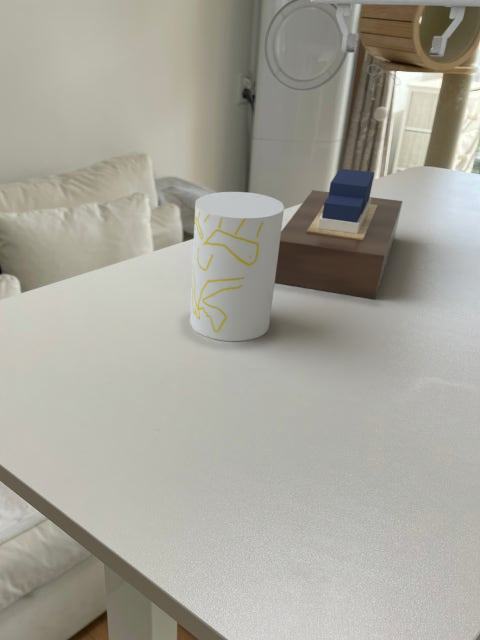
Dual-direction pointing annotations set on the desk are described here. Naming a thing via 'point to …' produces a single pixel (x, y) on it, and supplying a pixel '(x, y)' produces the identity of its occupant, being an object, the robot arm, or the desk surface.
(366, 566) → the desk surface
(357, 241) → the brown block
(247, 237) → the yellow doodled cylinder
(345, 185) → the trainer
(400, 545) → the desk surface
